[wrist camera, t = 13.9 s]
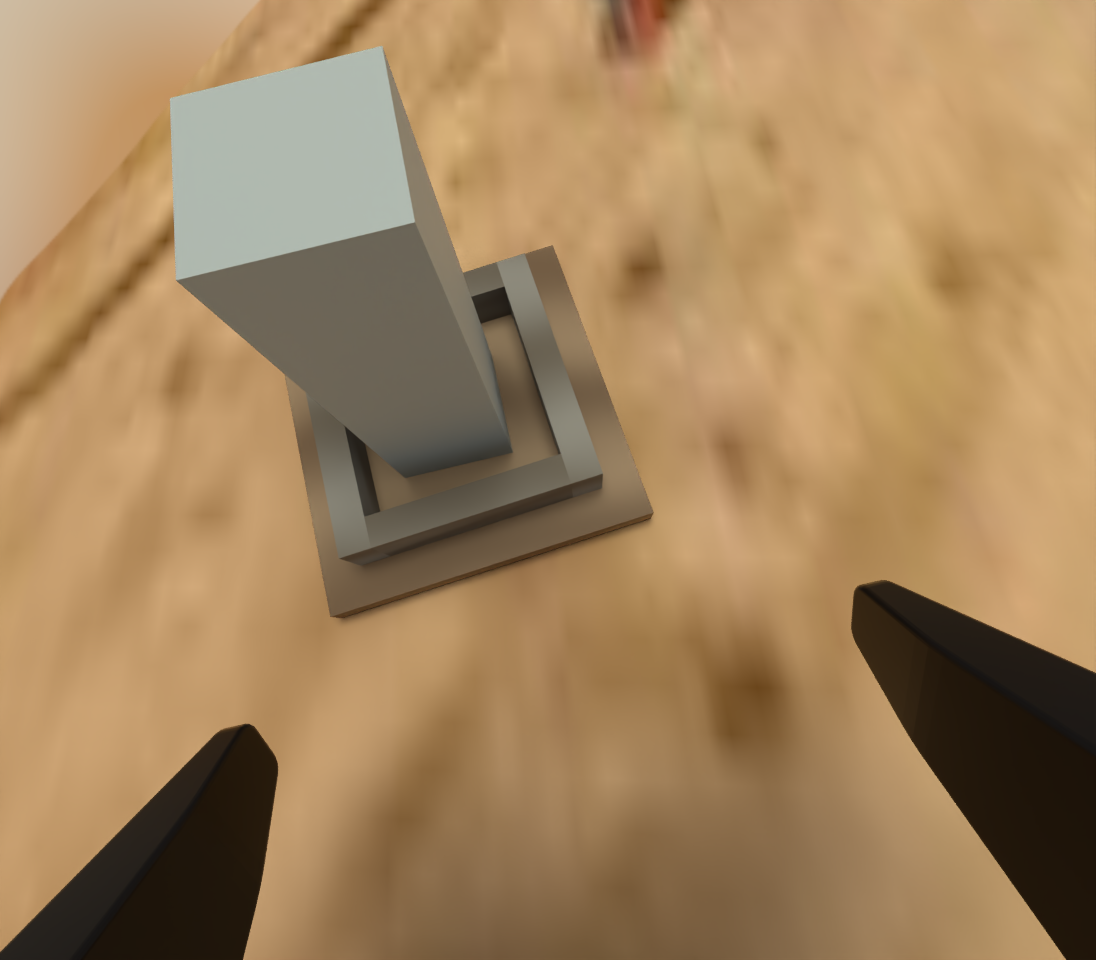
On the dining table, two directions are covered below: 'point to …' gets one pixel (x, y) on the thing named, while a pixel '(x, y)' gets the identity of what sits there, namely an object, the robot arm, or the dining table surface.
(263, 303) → the block
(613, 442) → the jig
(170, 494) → the dining table surface
